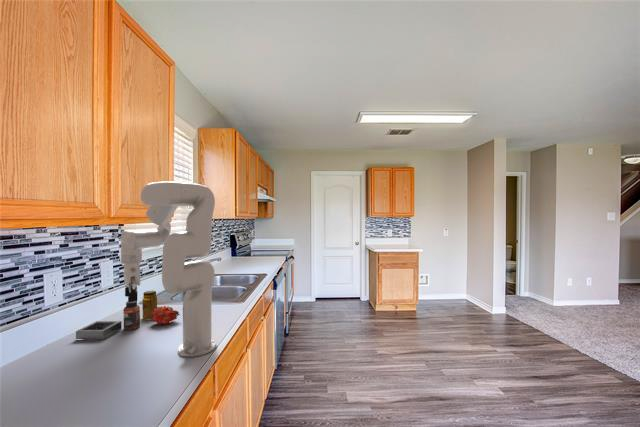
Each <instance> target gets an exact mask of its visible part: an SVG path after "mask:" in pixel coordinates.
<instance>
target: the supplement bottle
mask: <svg viewBox="0 0 640 427" xmlns="http://www.w3.org/2000/svg"><path fill="white" fill-rule="evenodd" d="M140 308H141V307H140V305H138V300H137V301H134V302H128V301H126V302H125V306H124V308H123V314H122V315H123V330H125V331H131V330H135V329H138V328H139V327H140V325H141V319H140V318H141V309H140Z"/></svg>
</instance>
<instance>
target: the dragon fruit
mask: <svg viewBox="0 0 640 427" xmlns="http://www.w3.org/2000/svg"><path fill="white" fill-rule="evenodd" d="M180 315H181V314H180V312H179V311H178V310H175V309H173V308H172V307H171V306H166V305H164V306H157V308H156V309H154V310H153V311H152V312H151V315H150V317H151V318H152V319H151V320H150V322H151V323H157V325H159V326H161V325H171V324H172V325H173V323H174V322H173V321H175V320H177V318H178V316H180Z"/></svg>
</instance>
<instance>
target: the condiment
mask: <svg viewBox="0 0 640 427" xmlns="http://www.w3.org/2000/svg"><path fill="white" fill-rule="evenodd" d="M157 307H158V296H157V291H156V290H146V291H144V292H143V298H142V316H140V320H145V321H146V320H147V321H151V319H152V318H151V317H150V315H151V312H152V311H153V310H154V309H156V308H157Z"/></svg>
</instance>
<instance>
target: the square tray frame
mask: <svg viewBox="0 0 640 427" xmlns="http://www.w3.org/2000/svg"><path fill="white" fill-rule="evenodd" d="M122 322H123V321H121V320H118V321H117V320H114V321H113V320H112V321H111V320H108V321H107V320H103V321H94V322H92V323H90V324H88V325H86V326H84V327H82V328H79V329H77V330H76V331H75V340H76V339H84V340H83V341H104V340H106V339H108V338H109V337H111V336H113V335H114V333H115V334H116V333H118V332H119V330H120V331H122V330H121V329H122V324H123V323H122ZM107 337H108V338H107Z"/></svg>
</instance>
